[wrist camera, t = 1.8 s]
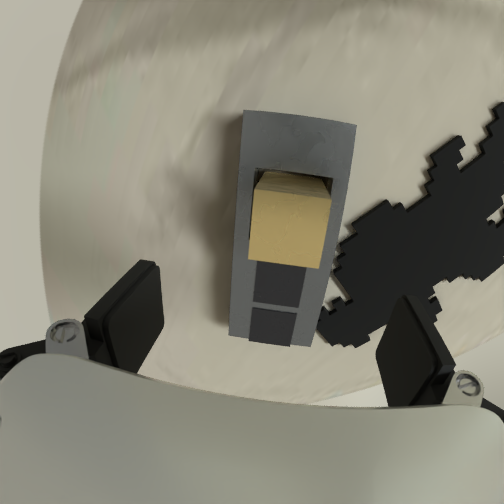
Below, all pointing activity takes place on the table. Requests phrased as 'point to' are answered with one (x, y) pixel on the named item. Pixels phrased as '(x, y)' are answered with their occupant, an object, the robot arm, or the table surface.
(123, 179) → the table surface
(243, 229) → the rail
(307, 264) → the block
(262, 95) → the table surface
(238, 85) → the table surface
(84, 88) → the table surface
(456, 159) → the black pixelated cutout
